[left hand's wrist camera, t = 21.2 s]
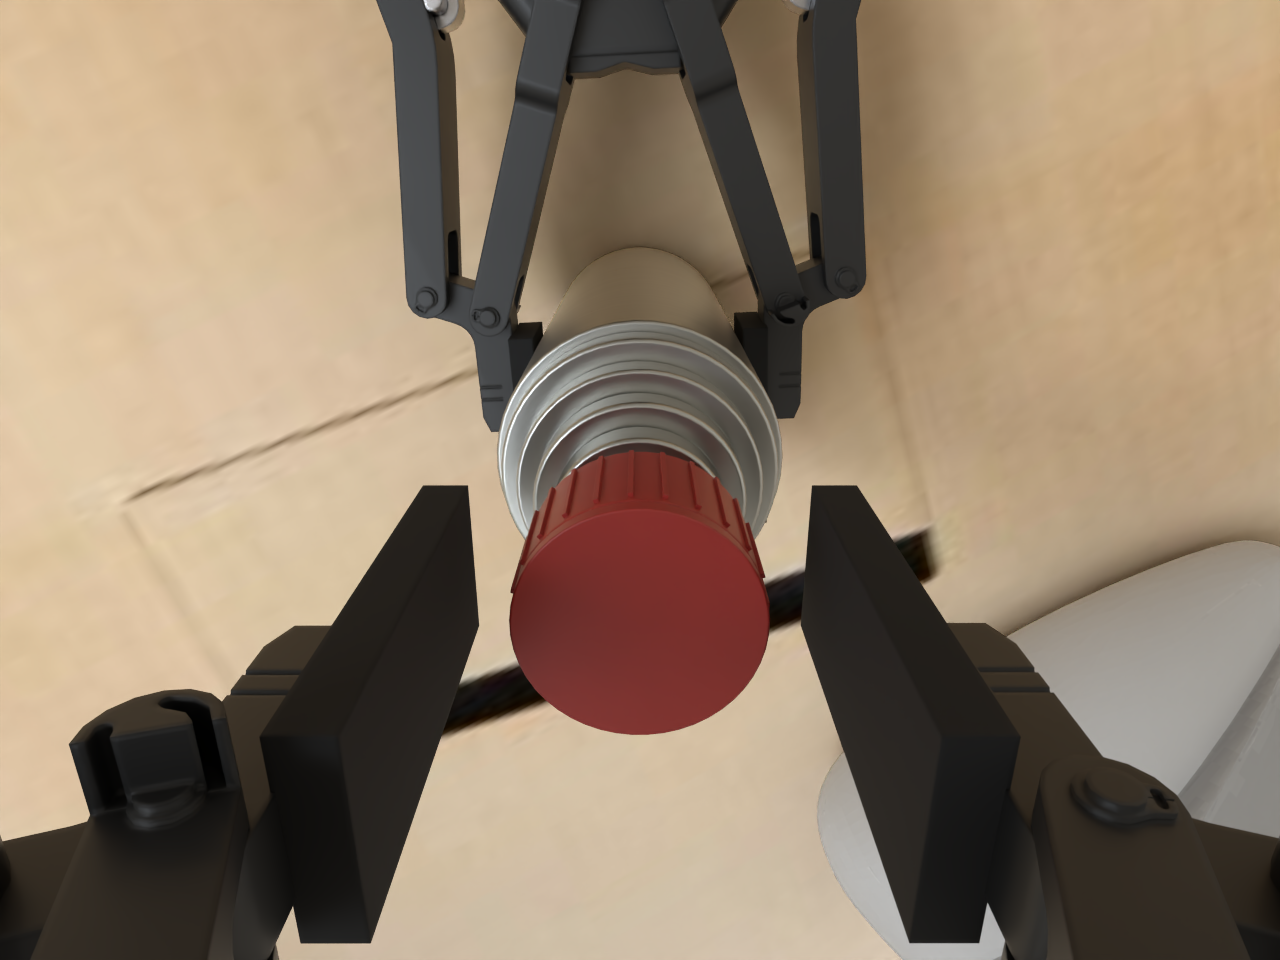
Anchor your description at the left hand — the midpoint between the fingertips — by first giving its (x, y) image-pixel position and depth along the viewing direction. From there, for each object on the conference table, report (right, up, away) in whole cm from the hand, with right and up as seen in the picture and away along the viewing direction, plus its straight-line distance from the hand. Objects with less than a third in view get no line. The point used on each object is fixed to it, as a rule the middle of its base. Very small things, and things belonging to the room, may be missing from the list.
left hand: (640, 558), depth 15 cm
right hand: (0, 0, +15) cm, 15 cm away
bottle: (0, +7, +18) cm, 20 cm away
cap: (0, -1, -2) cm, 2 cm away
